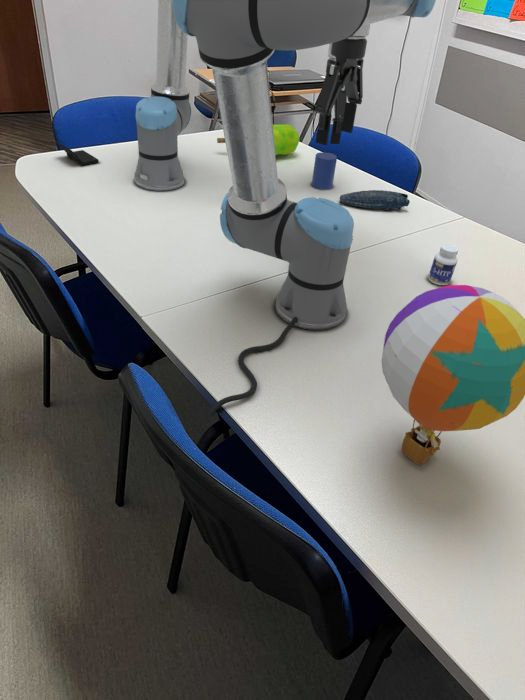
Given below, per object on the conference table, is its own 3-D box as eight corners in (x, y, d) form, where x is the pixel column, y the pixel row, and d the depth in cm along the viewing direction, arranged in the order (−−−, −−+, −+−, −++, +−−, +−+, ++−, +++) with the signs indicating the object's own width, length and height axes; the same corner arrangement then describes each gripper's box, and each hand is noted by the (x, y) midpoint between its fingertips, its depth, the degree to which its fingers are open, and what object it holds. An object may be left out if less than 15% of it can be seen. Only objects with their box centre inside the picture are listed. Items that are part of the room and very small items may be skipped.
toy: (330, 445, 83) (367, 285, 64) (404, 395, 93) (455, 244, 75) (432, 532, 72) (514, 369, 53) (503, 464, 82) (592, 308, 64)
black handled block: (103, 155, 172) (82, 133, 163) (91, 173, 171) (70, 152, 162) (82, 151, 178) (61, 130, 170) (71, 168, 177) (49, 148, 168)
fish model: (408, 214, 157) (412, 198, 153) (339, 207, 158) (341, 191, 154) (406, 206, 162) (410, 190, 159) (339, 199, 163) (341, 183, 160)
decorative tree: (214, 118, 187) (294, 118, 193) (214, 147, 194) (292, 146, 199) (220, 132, 174) (307, 132, 179) (220, 164, 180) (304, 162, 185)
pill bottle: (426, 282, 126) (437, 249, 120) (429, 272, 130) (439, 240, 124) (449, 287, 124) (460, 254, 119) (450, 277, 128) (461, 245, 123)
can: (336, 186, 171) (341, 156, 165) (324, 191, 167) (328, 161, 161) (319, 179, 174) (324, 150, 168) (307, 184, 170) (311, 155, 164)
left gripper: (365, 69, 139) (351, 150, 152) (342, 52, 158) (331, 125, 171) (338, 67, 138) (326, 149, 151) (318, 50, 157) (309, 124, 170)
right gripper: (358, 29, 122) (343, 123, 135) (307, 38, 105) (295, 145, 118) (388, 34, 119) (369, 130, 133) (340, 44, 102) (324, 153, 116)
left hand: (329, 136), depth 161 cm, fingers open, 13 cm apart
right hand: (334, 137), depth 126 cm, fingers open, 13 cm apart
